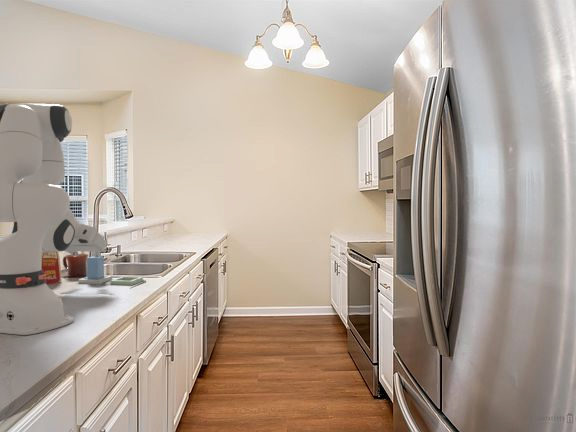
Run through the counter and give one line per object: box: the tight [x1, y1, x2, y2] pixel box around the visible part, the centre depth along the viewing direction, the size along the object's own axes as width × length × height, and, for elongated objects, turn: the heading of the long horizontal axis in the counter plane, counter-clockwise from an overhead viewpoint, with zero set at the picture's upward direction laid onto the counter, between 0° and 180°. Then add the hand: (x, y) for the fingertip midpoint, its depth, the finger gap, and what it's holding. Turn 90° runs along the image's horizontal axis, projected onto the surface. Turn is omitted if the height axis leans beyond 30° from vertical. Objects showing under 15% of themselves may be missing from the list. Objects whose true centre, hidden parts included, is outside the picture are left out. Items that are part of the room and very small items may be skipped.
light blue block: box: [86, 254, 105, 280], centre depth 161 cm, size 4×4×11 cm
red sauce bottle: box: [41, 252, 63, 285], centre depth 160 cm, size 9×9×20 cm
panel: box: [75, 275, 147, 289], centre depth 160 cm, size 24×12×2 cm, turn 81°
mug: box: [62, 253, 89, 278], centre depth 174 cm, size 12×9×10 cm
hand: (87, 255), depth 157 cm, fingers open, 8 cm apart
